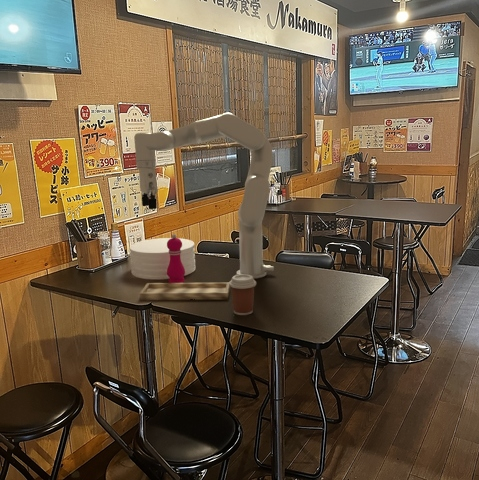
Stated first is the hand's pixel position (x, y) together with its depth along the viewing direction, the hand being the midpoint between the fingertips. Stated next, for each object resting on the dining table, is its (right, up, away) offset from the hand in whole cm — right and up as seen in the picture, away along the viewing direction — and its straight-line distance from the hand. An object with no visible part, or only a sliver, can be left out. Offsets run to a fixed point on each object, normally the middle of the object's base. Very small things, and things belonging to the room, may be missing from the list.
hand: (149, 207), depth 194 cm
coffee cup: (+38, -37, -33) cm, 63 cm away
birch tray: (+17, -34, -15) cm, 40 cm away
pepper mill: (+11, -31, -1) cm, 33 cm away
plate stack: (+3, -27, +18) cm, 32 cm away
